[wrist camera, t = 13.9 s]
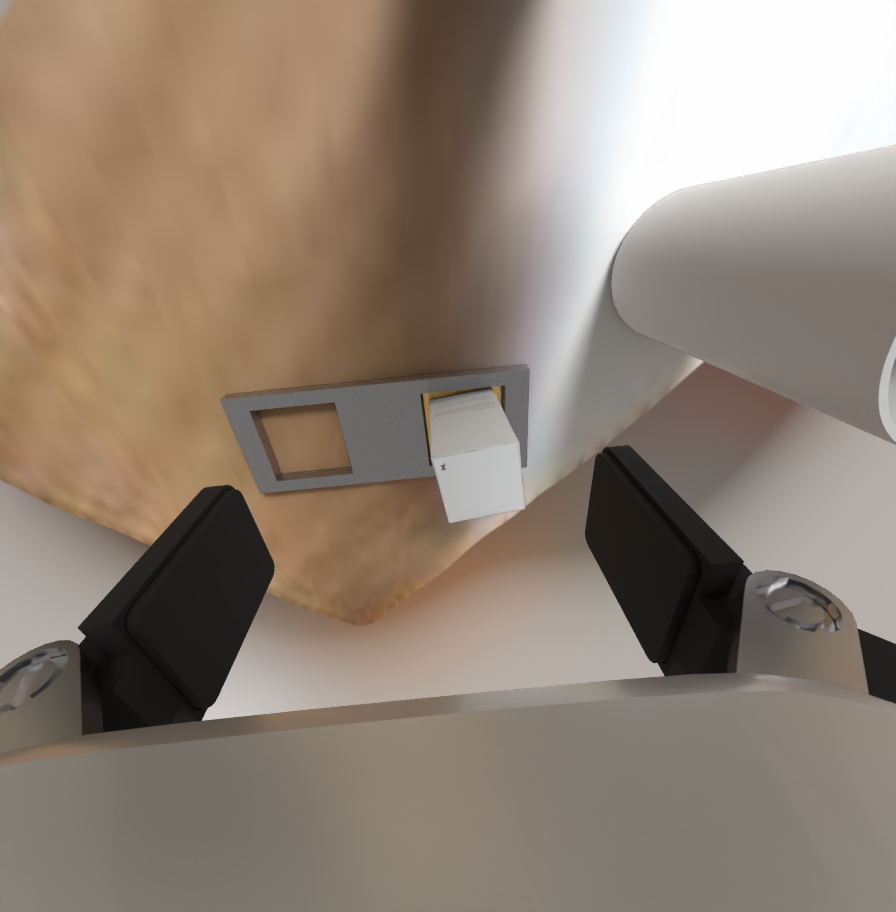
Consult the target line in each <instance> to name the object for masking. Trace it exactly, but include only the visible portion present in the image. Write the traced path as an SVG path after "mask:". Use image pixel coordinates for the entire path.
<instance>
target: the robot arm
mask: <svg viewBox="0 0 896 912" xmlns="http://www.w3.org/2000/svg"><path fill="white" fill-rule="evenodd" d="M585 537H586V541H587V544H588V546H589V548H590V550H591V552H592V553H593V555H594V557H595V559H596V561H597V563H598V564H599V567H600V569H601V570H602V572H603V574H604V576H605V578H606V580H607V582H608V584H609V586H610V587H611V589H612V591H613V593H614V595H615V597H616V599H617V601H618V603H619V604H620V606H621V608H622V610H623V612H624V614H625V616H626V618H627V620H628V621H629V623H630V625H631V627H632V629H633V631H634V633H635V635H636V637H637V638H638V640H639V642H640V644H641V646H642V648H643V650H644V652H645V653H646V655H647V657H648V659H649V660H650V661H651V662H653V663H658V665H659V666H660V668H661V670H662V672H663V674H664V676H663V677H650V678H638V679H623V680H611V681H599V682H588V683H579V684H568V685H557V686H546V687H535V688H524V689H514V690H503V691H493V692H482V693H471V694H461V695H452V696H441V697H431V698H421V699H411V700H400V701H390V702H380V703H371V704H361V705H351V706H340V707H331V708H320V709H310V710H301V711H291V712H282V713H272V714H263V715H253V716H244V717H234V718H225V719H216V720H207V721H202V719H203V717H204V714H205V712H206V710H207V708H208V707H210V706H212V705H213V704H214V703H215V701H216V699H217V698H218V696H219V694H220V691H221V688H222V687H223V685H224V683H225V680H226V678H227V676H228V674H229V672H230V669H231V667H232V665H233V663H234V661H235V658H236V656H237V654H238V652H239V650H240V648H241V645H242V643H243V641H244V639H245V637H246V634H247V632H248V630H249V628H250V626H251V623H252V621H253V619H254V617H255V615H256V613H257V610H258V608H259V606H260V604H261V602H262V599H263V597H264V595H265V593H266V591H267V588H268V586H269V584H270V582H271V580H272V578H273V575H274V562H273V560H272V557H271V555H270V553H269V551H268V549H267V547H266V545H265V542H264V540H263V538H262V536H261V534H260V532H259V529H258V527H257V525H256V523H255V521H254V519H253V516H252V514H251V512H250V510H249V508H248V506H247V504H246V501H245V499H244V497H243V495H242V493H241V492H240V491H239V490H235V489H234V488H233V487H232V486H230V485H223V486H213V487H206V488H204V489H202V490H201V491H200V492H199V493H198V495H197V496H196V497H195V498H194V499H193V500H192V501H191V502H190V503H189V505H188V506H187V507H186V508H185V509H184V510H183V511H182V512H181V513H180V515H179V516H178V517H177V518H176V519H175V520H174V521H173V522H172V523H171V525H170V526H169V527H168V528H167V529H166V530H165V531H164V532H163V533H162V535H161V536H160V537H159V538H158V539H157V540H156V541H155V542H154V543H153V545H152V546H151V547H150V548H149V549H148V550H147V551H146V552H145V553H144V555H143V556H142V557H141V558H140V559H139V560H138V561H137V562H136V563H135V565H134V566H133V567H132V568H131V569H130V570H129V571H128V572H127V573H126V575H125V576H124V577H123V578H122V579H121V580H120V581H119V582H118V583H117V585H116V586H115V587H114V588H113V589H112V590H111V591H110V592H109V593H108V594H107V596H106V597H105V598H104V599H103V600H102V601H101V602H100V603H99V605H98V606H97V607H96V608H95V609H94V610H93V611H92V612H91V614H89V616H88V617H87V618H86V619H85V620H84V621H83V622H82V623H81V624H80V626H79V627H78V629H79V630H80V631H81V632H82V633H83V634H84V635H85V636H86V637H85V639H84V640H83V641H82V642H81V643H80V645H78V644H77V643H75V642H73V641H70V640H59V641H55V642H51V643H48V644H44V645H42V646H40V647H37V648H35V649H33V650H31V651H28V652H27V653H25V654H23V655H22V656H20V657H18V658H16V659H15V660H13V661H12V662H10V663H9V664H7V665H6V666H5V667H4V668H2V669H1V670H0V912H896V644H894V643H892V642H889V641H887V640H884V639H882V638H880V637H877V636H875V635H872V634H870V633H867V632H865V631H862V630H860V629H858V628H857V623H856V621H855V619H854V616H853V614H852V612H851V611H850V610H849V609H848V608H847V606H846V605H845V604H844V603H843V602H842V601H841V600H840V599H839V598H837V597H836V596H835V595H833V594H832V593H831V592H830V591H828V590H827V589H825V588H823V587H822V586H820V585H818V584H816V583H815V582H813V581H810V580H808V579H805V578H803V577H800V576H798V575H795V574H791V573H787V572H782V571H773V570H765V571H759V572H755V573H754V574H753V573H751V572H750V570H749V569H748V568H747V567H746V566H745V565H744V564H743V562H744V561H743V560H742V559H741V558H740V557H739V556H738V555H737V554H736V553H735V552H734V551H733V550H732V549H731V548H730V547H729V546H728V545H727V544H726V543H725V542H724V541H723V540H722V539H721V538H720V537H719V536H718V535H717V534H716V533H715V532H714V531H713V530H712V529H711V528H710V527H709V526H708V525H707V523H706V522H704V520H703V519H702V518H700V516H699V515H698V514H696V512H695V511H694V510H693V509H692V508H691V507H690V506H689V505H688V504H687V503H686V502H685V501H684V500H683V499H682V498H681V497H680V496H679V495H678V494H677V493H676V492H675V491H674V490H673V489H672V488H671V487H670V486H669V485H668V484H667V483H666V482H665V481H664V480H663V479H662V478H661V477H660V476H659V475H658V474H657V473H656V472H655V471H654V470H653V469H652V468H651V467H650V466H649V465H648V464H647V463H646V462H645V461H644V460H643V459H642V458H641V457H640V456H639V455H638V454H637V453H636V452H635V451H634V450H633V449H632V448H631V447H630V446H628V445H625V446H615V447H606V448H604V449H603V451H602V453H600V454H597V456H596V459H595V465H594V472H593V480H592V486H591V494H590V500H589V508H588V515H587V522H586V529H585Z"/></svg>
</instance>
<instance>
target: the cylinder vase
mask: <svg viewBox="0 0 896 912" xmlns="http://www.w3.org/2000/svg"><path fill="white" fill-rule="evenodd" d="M611 289H612V297H613V302H614V305H615V308H616V310H617V312H618V314H619V316H620V317H621V319H622V320H623V321H624V322H625V323H626V324H627V325H628V326H629V327H630V328H631V329H633V330H635V331H636V332H638V333H640V334H643V335H645V336H647V337H650V338H652V339H654V340H656V341H659V342H661V343H663V344H666V345H668V346H670V347H673V348H675V349H677V350H679V351H682V352H684V353H686V354H689V355H691V356H693V357H695V358H698V359H700V360H702V361H705V362H707V363H709V364H712V365H714V366H716V367H718V368H721V369H723V370H725V371H728V372H730V373H732V374H735V375H737V376H739V377H742V378H744V379H746V380H748V381H751V382H753V383H755V384H757V385H760V386H762V387H764V388H767V389H769V390H771V391H774V392H776V393H778V394H780V395H783V396H785V397H787V398H790V399H792V400H794V401H796V402H799V403H801V404H803V405H806V406H808V407H810V408H813V409H815V410H817V411H820V412H822V413H824V414H826V415H829V416H831V417H833V418H835V419H838V420H840V421H843V422H845V423H847V424H849V425H852V426H854V427H856V428H858V429H861V430H863V431H866V432H868V433H870V434H872V435H874V436H877V437H879V438H881V439H884V440H886V441H888V442H891V443H893V444H895V445H896V145H893V146H888V147H883V148H878V149H873V150H868V151H863V152H858V153H854V154H849V155H844V156H839V157H834V158H829V159H824V160H819V161H814V162H809V163H804V164H799V165H795V166H790V167H785V168H780V169H775V170H770V171H765V172H760V173H755V174H750V175H745V176H740V177H736V178H731V179H726V180H721V181H716V182H711V183H706V184H701V185H696V186H691V187H687V188H683V189H680V190H678V191H675V192H673V193H671V194H669V195H667V196H665V197H664V198H662V199H660V200H659V201H658V202H656V203H655V204H654V205H652V206H651V207H650V208H649V209H648V210H646V211H645V212H644V213H643V214H642V215H641V216H640V218H639V219H638V220H637V221H636V222H635V223H634V225H633V226H632V227H631V229H630V230H629V232H628V233H627V235H626V237H625V238H624V240H623V242H622V244H621V246H620V248H619V251H618V253H617V256H616V259H615V262H614V266H613V271H612V280H611Z"/></svg>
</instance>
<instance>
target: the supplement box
mask: <svg viewBox="0 0 896 912" xmlns="http://www.w3.org/2000/svg"><path fill="white" fill-rule="evenodd" d="M429 412H430V448H431V461H432V465H433V468H434V472H435V476H436V479H437V483H438V486H439V490H440V493H441V497H442V500H443V504H444V507H445V510H446V514H447V518H448V521H449V523H454V522H459V521H464V520H469V519H474V518H480V517H485V516H490V515H495V514H501V513H506V512H511V511H516V510H522V509H525V504H524V493H523V481H522V468H521V456H520V443H519V440H518V439H517V437H516V436H515V434H514V432H513V430H512V428H511V426H510V424H509V421H508V419H507V417H506V415H505V413H504V411H503V409H502V407H501V405H500V402H499V400H498V399H497V397H496V395H495V393H494V391H493V389H492V388H487V389H482V390H477V391H472V392H467V393H462V394H458V395H453V396H448V397H444V398H439V399H434V400H430V401H429Z"/></svg>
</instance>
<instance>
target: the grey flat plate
mask: <svg viewBox="0 0 896 912" xmlns="http://www.w3.org/2000/svg"><path fill="white" fill-rule="evenodd" d="M501 386H503V411H504V413H505V415H506V417H507V419H508V421H509V424H510V426H511V428H512V430H513V432H514V434H515V436H516V437H517V439H518V440H519V443H520V456H521V468H523V467H527V437H528V402H529V368H528V367H527V365H516V366H506V367H496V368H486V369H476V370H466V371H456V372H446V373H436V374H426V375H416V376H406V377H396V378H386V379H376V380H366V381H356V382H345V383H335V384H325V385H315V386H305V387H295V388H285V389H275V390H265V391H255V392H245V393H235V394H227V395H226V396H224V397H223V398H222V399H220V401H221V404H222V406H223V408H224V411H225V413H226V415H227V418H228V420H229V422H230V425H231V427H232V429H233V432H234V434H235V436H236V439H237V441H238V443H239V446H240V448H241V450H242V452H243V455H244V457H245V459H246V462H247V464H248V466H249V469H250V471H251V473H252V476H253V478H254V480H255V483H256V485H257V487H258V490H259V492H260V494H262V493H272V492H282V491H292V490H302V489H312V488H322V487H332V486H342V485H353V484H363V483H373V482H383V481H393V480H403V479H413V478H423V477H433V476H435V472H434V468H433V465H432V461H431V459H429V452H428V444H427V437H426V429H425V421H424V414H423V406H422V398H421V394H423V400H424V408H425V416H426V424H427V432H428V440H429V447H430V412H429V401H430V400H434V399H439V398H444V397H448V396H453V395H458V394H462V393H467V392H472V391H477V390H482V389H487V388H492V389H493V391H494V393H495V395H496V397H497V399H498V400H499V402H500V405H501ZM334 402H335V406H336V410H337V413H338V417H339V421H340V425H341V429H342V433H343V436H344V440H345V444H346V448H347V452H348V455H349V459H350V463H351V467H345V468H335V469H325V470H315V471H305V472H295V473H285V474H282V473H281V471H280V468H279V466H278V463H277V460H276V458H275V455H274V452H273V450H272V447H271V445H270V442H269V439H268V437H267V434H266V431H265V429H264V426H263V424H262V421H261V418H260V416H259V413H258V410H263V409H273V408H284V407H294V406H304V405H314V404H324V403H334ZM430 455H431V448H430Z"/></svg>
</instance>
